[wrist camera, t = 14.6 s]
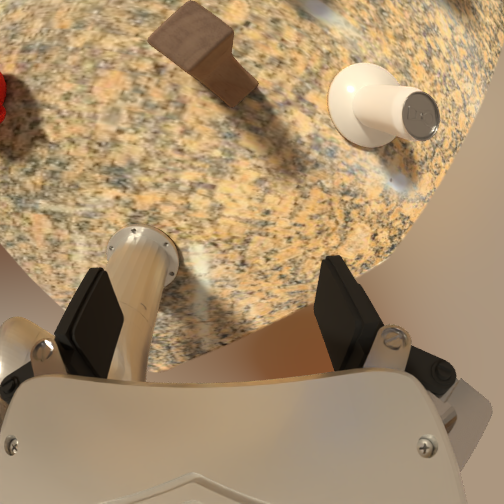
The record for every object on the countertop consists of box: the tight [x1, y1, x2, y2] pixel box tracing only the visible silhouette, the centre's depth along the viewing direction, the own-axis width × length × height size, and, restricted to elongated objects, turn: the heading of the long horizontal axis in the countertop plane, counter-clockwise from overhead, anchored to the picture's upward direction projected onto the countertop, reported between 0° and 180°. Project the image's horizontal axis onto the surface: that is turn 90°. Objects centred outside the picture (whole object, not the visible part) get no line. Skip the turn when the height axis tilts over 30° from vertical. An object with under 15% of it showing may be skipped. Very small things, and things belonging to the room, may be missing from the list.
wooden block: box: [147, 0, 259, 108], centre depth 22 cm, size 9×4×18 cm, turn 45°
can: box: [353, 85, 440, 141], centre depth 27 cm, size 6×6×12 cm
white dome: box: [327, 63, 400, 148], centre depth 32 cm, size 13×13×1 cm
